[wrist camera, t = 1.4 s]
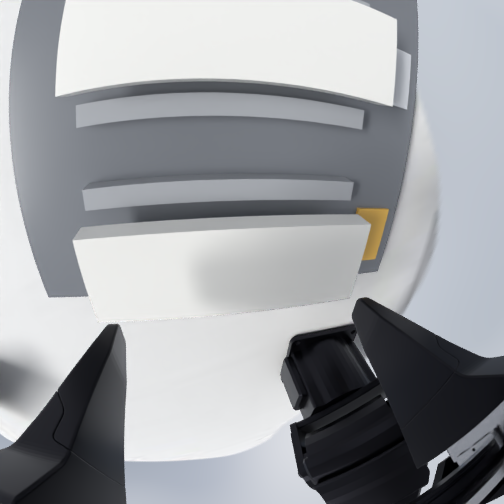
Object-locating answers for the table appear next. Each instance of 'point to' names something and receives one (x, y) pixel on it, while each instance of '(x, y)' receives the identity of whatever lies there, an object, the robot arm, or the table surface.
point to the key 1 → (219, 264)
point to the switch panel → (197, 148)
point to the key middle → (228, 45)
